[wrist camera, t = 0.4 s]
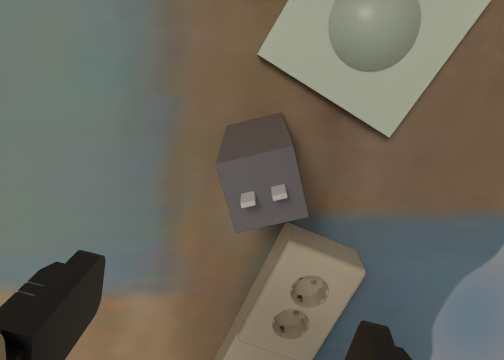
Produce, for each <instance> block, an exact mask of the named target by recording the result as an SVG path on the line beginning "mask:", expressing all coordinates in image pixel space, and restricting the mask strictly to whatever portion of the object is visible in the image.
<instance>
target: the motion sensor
mask: <svg viewBox="0 0 504 360" xmlns="http://www.w3.org/2000/svg"><path fill="white" fill-rule="evenodd" d="M490 1H491V0H288V1H287V3H286V4H285V6H284V8H283V9H282V11H281V13H280V15H279V16H278V18H277V20H276V22H275V23H274V25H273V27H272V28H271V30H270V32H269V34H268V35H267V37H266V39H265V41H264V42H263V44H262V46H261V47H260V49H259V51H258V53H257V54H258V55H259V56H261V57H262V58H264V59H266V60H267V61H269V62H270V63H272V64H274V65H275V66H277V67H278V68H280V69H281V70H283V71H285V72H286V73H288V74H289V75H291V76H293V77H294V78H296V79H297V80H299V81H300V82H302V83H304V84H305V85H307V86H308V87H310V88H312V89H313V90H315V91H316V92H318V93H319V94H321V95H323V96H324V97H326V98H327V99H329V100H331V101H332V102H334V103H335V104H337V105H338V106H340V107H342V108H343V109H345V110H346V111H348V112H350V113H351V114H353V115H354V116H356V117H357V118H359V119H361V120H362V121H364V122H365V123H367V124H369V125H370V126H372V127H373V128H375V129H376V130H378V131H380V132H381V133H383V134H384V135H386V136H388V137H389V138H390V136H391V135H392V134H393V132H394V131H395V129H396V128H397V127H398V125H399V124H400V123H401V121H402V120H403V119H404V117H405V116H406V115H407V113H408V112H409V111H410V109H411V108H412V106H413V105H414V104H415V102H416V101H417V100H418V98H419V97H420V96H421V94H422V93H423V92H424V90H425V89H426V88H427V86H428V85H429V83H430V82H431V81H432V79H433V78H434V77H435V75H436V74H437V73H438V71H439V70H440V69H441V67H442V66H443V65H444V63H445V62H446V60H447V59H448V58H449V56H450V55H451V54H452V52H453V51H454V50H455V48H456V47H457V46H458V44H459V43H460V42H461V40H462V39H463V37H464V36H465V35H466V33H467V32H468V31H469V29H470V28H471V27H472V25H473V24H474V23H475V21H476V20H477V19H478V17H479V16H480V14H481V13H482V12H483V10H484V9H485V8H486V6H487V5H488V4H489V2H490Z"/></svg>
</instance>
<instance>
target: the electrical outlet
mask: <svg viewBox="0 0 504 360" xmlns="http://www.w3.org/2000/svg"><path fill="white" fill-rule="evenodd" d="M365 275H366V270H365V268H364V266H363V264H362V261H361V259H360V257H359V255H358V253H357V251H356V250H355V249H353V248H350V247H348V246H345V245H343V244H340V243H338V242H335V241H333V240H330V239H328V238H326V237H323V236H321V235H318V234H316V233H313V232H311V231H308V230H306V229H303V228H301V227H298V226H296V225H293V224H291V223H285V224H284V226H283V228H282V230H281V232H280V233H279V235H278V237H277V239H276V241H275V243H274V245H273V247H272V249H271V251H270V253H269V255H268V257H267V258H266V260H265V262H264V264H263V266H262V268H261V270H260V272H259V274H258V276H257V278H256V280H255V282H254V283H253V285H252V287H251V289H250V291H249V293H248V295H247V297H246V299H245V301H244V303H243V305H242V307H241V308H240V310H239V312H238V314H237V316H236V318H235V320H234V322H233V324H232V326H231V328H230V330H229V332H228V334H227V335H226V337H225V339H224V341H223V343H222V345H221V347H220V349H219V351H218V353H217V355H216V357H215V359H214V360H313V358H314V357H315V355H316V354H317V352H318V350H319V349H320V347H321V346H322V344H323V342H324V341H325V339H326V338H327V336H328V334H329V333H330V331H331V330H332V328H333V326H334V325H335V323H336V322H337V320H338V318H339V317H340V315H341V314H342V312H343V310H344V309H345V307H346V306H347V304H348V302H349V301H350V299H351V298H352V296H353V295H354V293H355V291H356V290H357V288H358V287H359V285H360V283H361V282H362V280H363V279H364V277H365Z"/></svg>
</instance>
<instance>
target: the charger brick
mask: <svg viewBox="0 0 504 360" xmlns="http://www.w3.org/2000/svg"><path fill="white" fill-rule="evenodd" d="M216 167H217V171H218V174H219V178H220V181H221V184H222V188H223V191H224V195H225V198H226V201H227V205H228V208H229V212H230V215H231V219H232V222H233V225H234V229H235V232H236V233H238V232H243V231H248V230H252V229H257V228H261V227H266V226H270V225H275V224H279V223H284V222H288V221H293V220H297V219H302V218H307V217H309V215H308V211H307V206H306V202H305V197H304V193H303V188H302V184H301V179H300V175H299V170H298V166H297V161H296V156H295V152H294V147H293V144H292V141H291V138H290V135H289V132H288V129H287V126H286V123H285V121H284V118H283V115H282V113H278V114H274V115H270V116H266V117H262V118H258V119H254V120H250V121H245V122H241V123H237V124H233V125H229V126H227V127H226V131H225V134H224V138H223V141H222V144H221V148H220V151H219V155H218V158H217V161H216Z"/></svg>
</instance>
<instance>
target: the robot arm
mask: <svg viewBox="0 0 504 360" xmlns="http://www.w3.org/2000/svg"><path fill="white" fill-rule="evenodd" d="M104 269H105V257H104V256H103V255H99V254H95V253H91V252H87V251H83V250H79V251H77V252H76V253H75V254H74V255H73V256H72V257H71V258H70V259H69V260H68V261H67V262H66V263H65V264H64V263H60V262H55V263H53V264H51V265H49V266H47V267H44V268H42V269H40V270H39V271H38V272H37V273H36V274H35V275H34V276H33V277H32V278H31V279H29V280H28V283H25V284H24V285H23V286H22V287H21V288H20V289H19V290H18V292H17V293H15V294H14V295H13V296H12V297H10V298H9V299H8V300H7V301H6V302H5V303H4V304H3V305H2V306H1V307H0V360H65V358H66V357H67V356H68V354H69V353H70V351H71V350H72V348H73V347H74V345H75V344H76V343H77V341H78V340H79V338H80V337H81V335H82V334H83V332H84V331H85V329H86V328H87V327H88V325H89V324H90V322H91V321H92V319H93V318H94V316H95V314H96V312H97V310H98V307H99V305H100V301H101V296H102V287H103V278H104ZM345 360H412V359H411V358H410V357H409V355H408V354H407V353H406V352H405V350H404V349H403V348H400V347H396V346H395V345H394V342H393V339H392V336H391V333H390V330H389V328H388V327H387V326H384V325H379V324H375V323H371V322H367V321H361V322H360V324H359V326H358V328H357V331H356V333H355V336H354V338H353V341H352V343H351V346H350V348H349V351H348V353H347V356H346V358H345Z"/></svg>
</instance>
